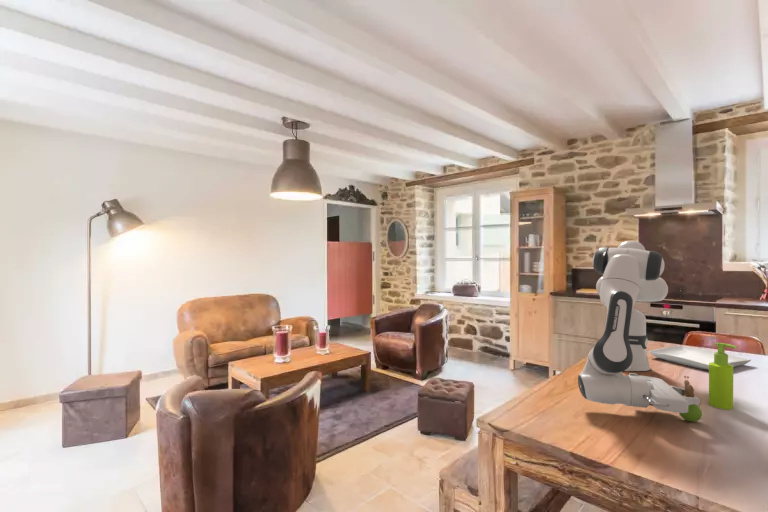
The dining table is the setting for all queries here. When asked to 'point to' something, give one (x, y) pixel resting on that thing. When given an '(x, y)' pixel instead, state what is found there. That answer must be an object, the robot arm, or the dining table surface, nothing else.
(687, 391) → the snail figurine
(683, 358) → the square plate
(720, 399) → the soap dispenser
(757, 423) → the dining table surface
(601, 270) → the robot arm
